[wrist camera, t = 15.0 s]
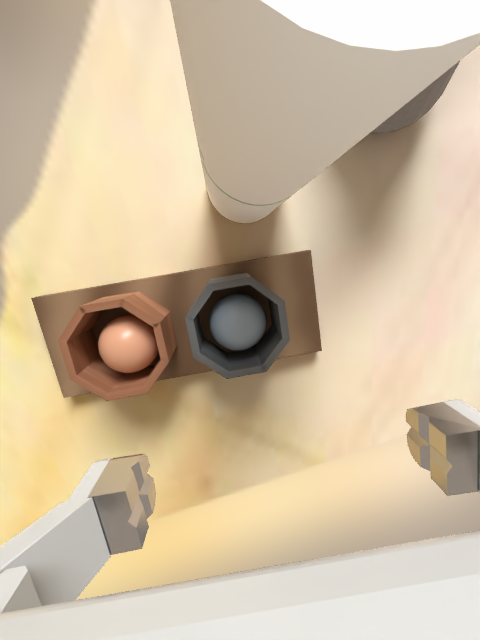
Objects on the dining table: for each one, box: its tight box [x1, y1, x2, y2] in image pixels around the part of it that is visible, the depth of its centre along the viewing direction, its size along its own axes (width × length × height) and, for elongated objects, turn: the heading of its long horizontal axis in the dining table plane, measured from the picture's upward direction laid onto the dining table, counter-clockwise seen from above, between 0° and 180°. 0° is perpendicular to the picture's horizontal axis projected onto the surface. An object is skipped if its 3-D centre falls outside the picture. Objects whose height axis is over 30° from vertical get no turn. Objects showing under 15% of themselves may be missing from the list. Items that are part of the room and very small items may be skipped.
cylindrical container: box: [170, 0, 480, 223], centre depth 16 cm, size 7×7×25 cm
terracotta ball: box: [98, 315, 158, 373], centre depth 26 cm, size 5×5×5 cm
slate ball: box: [209, 294, 266, 350], centre depth 27 cm, size 5×5×5 cm
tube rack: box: [32, 250, 322, 401], centre depth 27 cm, size 26×10×6 cm, turn 100°
